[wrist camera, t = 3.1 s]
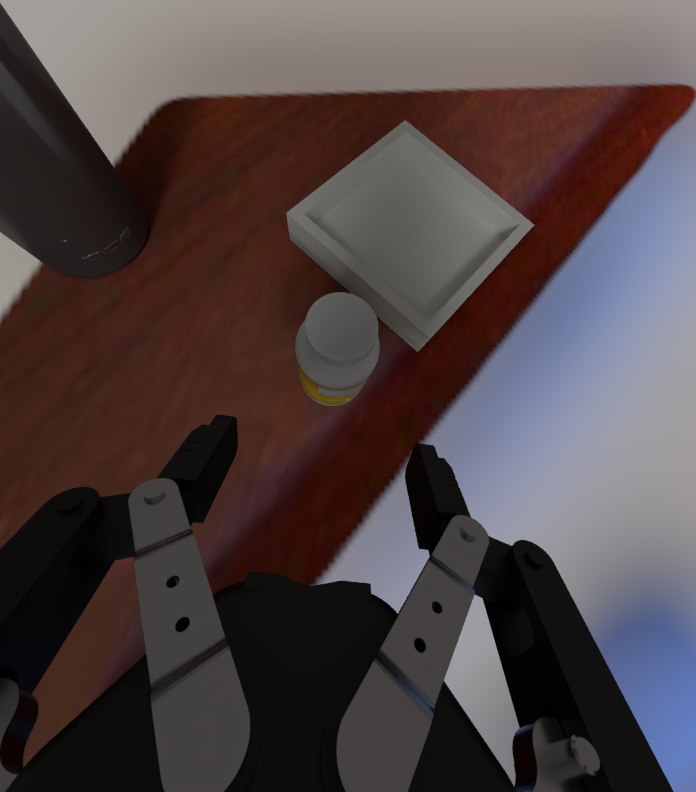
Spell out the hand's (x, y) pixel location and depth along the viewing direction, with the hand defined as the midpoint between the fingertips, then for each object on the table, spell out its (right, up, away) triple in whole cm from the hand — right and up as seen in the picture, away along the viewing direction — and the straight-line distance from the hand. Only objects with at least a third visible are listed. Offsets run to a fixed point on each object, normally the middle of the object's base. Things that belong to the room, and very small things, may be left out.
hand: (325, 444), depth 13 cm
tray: (+7, +17, +16) cm, 24 cm away
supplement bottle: (0, +4, +12) cm, 13 cm away
